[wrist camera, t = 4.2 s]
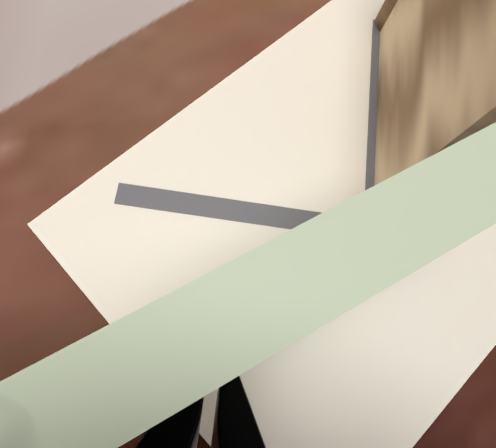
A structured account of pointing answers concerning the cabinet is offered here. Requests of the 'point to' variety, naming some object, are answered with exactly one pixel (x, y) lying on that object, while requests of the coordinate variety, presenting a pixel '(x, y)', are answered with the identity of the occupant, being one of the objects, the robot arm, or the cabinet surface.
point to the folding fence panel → (250, 306)
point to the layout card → (276, 223)
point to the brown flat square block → (432, 78)
